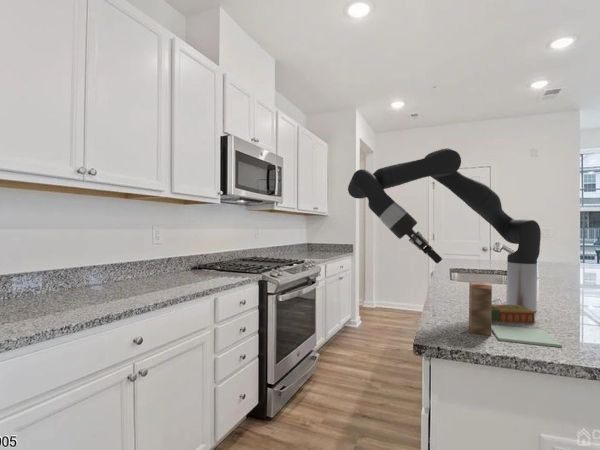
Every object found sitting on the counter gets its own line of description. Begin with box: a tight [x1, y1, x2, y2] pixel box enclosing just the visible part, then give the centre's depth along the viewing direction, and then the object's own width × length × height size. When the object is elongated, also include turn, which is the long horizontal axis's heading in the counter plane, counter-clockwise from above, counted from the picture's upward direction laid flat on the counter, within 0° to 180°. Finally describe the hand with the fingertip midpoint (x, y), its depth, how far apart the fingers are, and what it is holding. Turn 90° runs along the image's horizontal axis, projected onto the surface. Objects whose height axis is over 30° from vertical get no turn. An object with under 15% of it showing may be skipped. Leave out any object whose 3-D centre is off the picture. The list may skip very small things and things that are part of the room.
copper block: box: [468, 280, 493, 336], centre depth 97 cm, size 5×5×14 cm
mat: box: [491, 324, 563, 348], centre depth 93 cm, size 14×13×1 cm
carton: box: [491, 303, 535, 324], centre depth 111 cm, size 8×16×4 cm, turn 83°
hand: (439, 261), depth 100 cm, fingers closed
